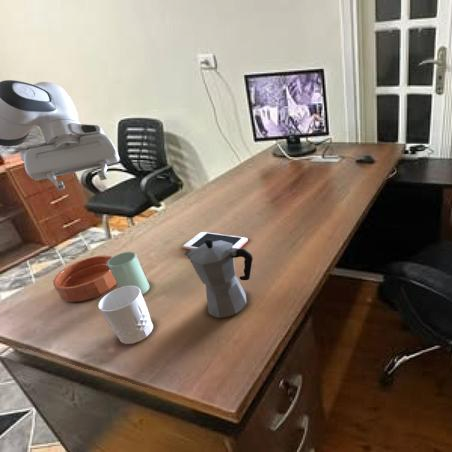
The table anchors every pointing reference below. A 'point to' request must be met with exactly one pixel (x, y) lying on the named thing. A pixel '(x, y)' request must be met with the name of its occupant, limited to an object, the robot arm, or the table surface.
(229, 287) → the coffeepot
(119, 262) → the cup
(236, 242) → the cell phone
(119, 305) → the white cup
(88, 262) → the bowl
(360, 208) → the table surface
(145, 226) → the table surface
